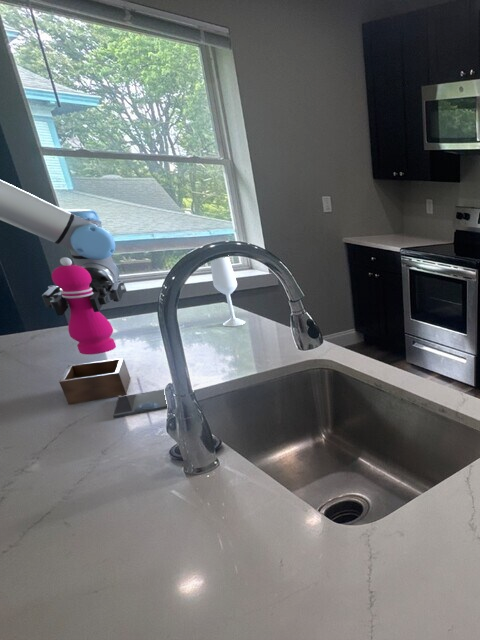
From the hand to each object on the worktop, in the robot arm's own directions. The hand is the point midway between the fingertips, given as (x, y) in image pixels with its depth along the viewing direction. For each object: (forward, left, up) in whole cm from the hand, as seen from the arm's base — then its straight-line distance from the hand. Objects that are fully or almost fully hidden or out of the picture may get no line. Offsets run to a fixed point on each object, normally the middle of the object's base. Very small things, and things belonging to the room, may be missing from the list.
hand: (76, 307), depth 94 cm
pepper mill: (0, +5, -11) cm, 12 cm away
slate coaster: (+6, -3, -22) cm, 23 cm away
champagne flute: (+27, +51, -22) cm, 62 cm away
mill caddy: (-3, +9, -22) cm, 24 cm away
